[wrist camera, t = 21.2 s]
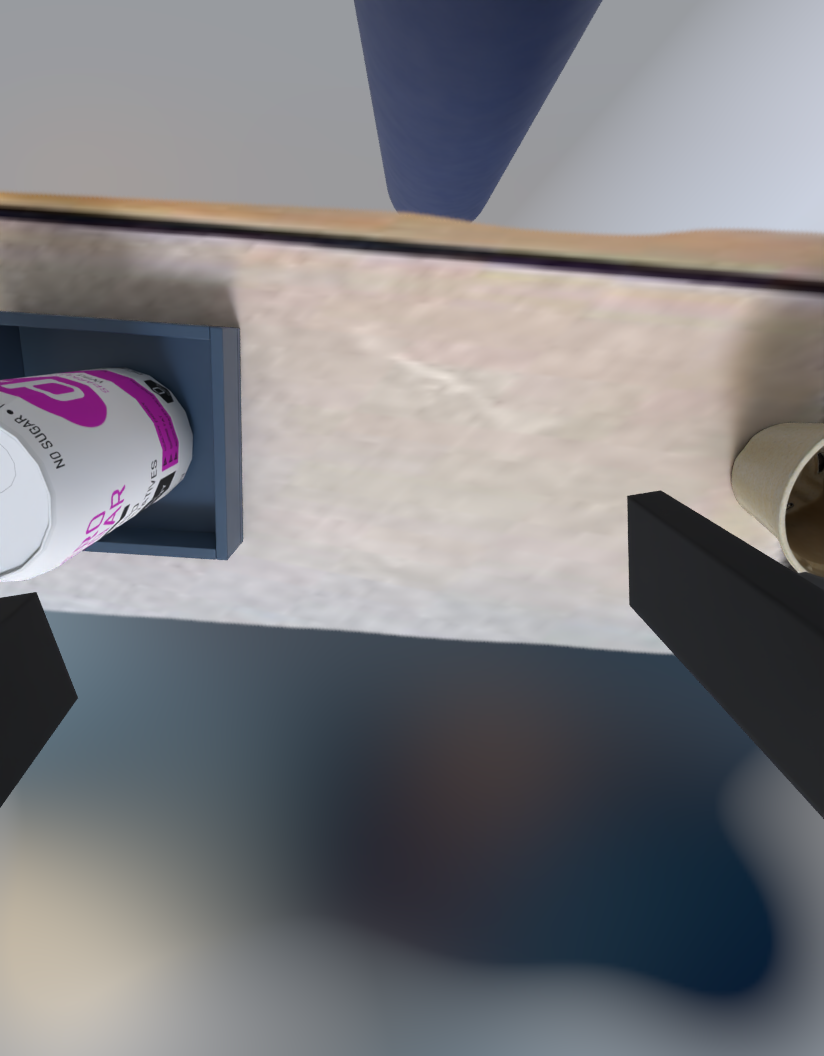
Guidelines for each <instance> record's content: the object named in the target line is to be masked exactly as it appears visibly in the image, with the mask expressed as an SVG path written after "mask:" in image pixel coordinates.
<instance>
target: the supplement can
mask: <svg viewBox="0 0 824 1056" xmlns="http://www.w3.org/2000/svg"><path fill="white" fill-rule="evenodd" d="M192 448H193V434H192V431H191V427H190V424H189V421H188V418H187V415H186V412H185V410H184V409H183V408H182V406H181V405H180V403H179V402H178V401H177V399H176V398H175V396H174V395H173V394H172V392H171V391H170V390H169V389H167V388H166V387H164V386H163V385H162V384H160V383H159V382H158V381H156V380H155V379H154V378H152V377H151V376H150V375H147V374H143V373H140V372H137V371H134V370H131V369H128V368H99V369H90V370H82V371H73V372H65V373H56V374H48V375H39V376H31V377H22V378H14V379H5V380H0V581H26V580H28V579H31V578H33V577H36V576H38V575H41V574H43V573H46V572H48V571H51V570H53V569H55V568H57V567H58V566H60V565H61V564H63V563H64V562H66V561H67V560H69V559H70V558H72V557H73V556H75V555H76V554H78V553H79V552H81V551H82V550H84V549H85V548H87V547H88V546H90V545H91V544H93V543H94V542H96V541H97V540H99V539H100V538H102V537H103V536H105V535H106V534H108V533H110V532H111V531H113V530H114V529H116V528H117V527H119V526H120V525H122V524H123V523H125V522H126V521H128V520H129V519H131V518H132V517H134V516H135V515H137V514H138V513H140V512H141V511H143V510H144V509H146V508H147V507H149V506H150V505H152V504H153V503H155V502H156V501H158V500H159V499H161V498H162V497H164V496H165V495H167V494H168V493H169V492H170V491H171V490H172V489H173V488H174V487H175V486H176V485H177V484H179V483H180V482H181V481H182V480H183V478H184V476H185V474H186V471H187V469H188V467H189V465H190V462H191V460H192Z"/></svg>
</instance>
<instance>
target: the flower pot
mask: <svg viewBox="0 0 824 1056" xmlns="http://www.w3.org/2000/svg"><path fill="white" fill-rule="evenodd" d="M819 453H822V455H823V457H824V423H781V424H777V425H774V426H771V427H768V428H766V429H764V430H762V431H760V432H759V433H757V434H756V435H754V436H753V437H752V438H751V440H750V441H749V442H748V444H747V445H746V446H745V448H744V449H743V450H742V451H741V452H740V454H739V455H738V456H737V457H736V460H735V462H734V466H733V470H732V480H731V482H732V488H733V492H734V495H735V497H736V499H737V501H738V502H739V504H740V505H741V506H742V507H743V508H744V509H745V510H746V511H747V512H748V513H749V514H750V515H752V516H753V517H754V518H756V519H757V520H758V521H759V522H760V523H761V524H762V525H764V526H765V527H766V528H767V529H768V530H769V531H770V532H771V533H772V534H773V535H774V536H776V537H777V539H778V540H779V542H780V545H781V548H782V550H783V553H784V555H785V556H786V558H787V560H788V561H789V562H790V564H791V565H792V566H793V567H794V569H795V570H796V571H797V572H799V573H801V572H808V573H811V574H814V575H817V576H820V577H824V468H823V470H822V471H821V472H819V459H818V454H819ZM789 503H792V504H793V506H791V507H789V508H788V509H786V507H787V504H789Z"/></svg>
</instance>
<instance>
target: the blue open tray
mask: <svg viewBox="0 0 824 1056" xmlns="http://www.w3.org/2000/svg"><path fill="white" fill-rule="evenodd" d="M99 368H128V369H131V370H134V371H137V372H140V373H143V374H147V375H150V376H151V377H152V378H154V379H155V380H156V381H158V382H159V383H160V384H162V385H163V386H164V387H166V388H167V389H169V390H170V391H171V392H172V394H173V395H174V396H175V398H176V399H177V401H178V402H179V403H180V405H181V406H182V408H183V409H184V410H185V412H186V415H187V418H188V421H189V424H190V427H191V431H192V434H193V448H192V460H191V462H190V465H189V467H188V469H187V471H186V474H185V476H184V478H183V480H182V481H181V482H180V483H179V484H177V485H176V486H175V487H174V488H173V489H172V490H171V491H170V492H169V493H168V494H167V495H165V496H164V497H162V498H161V499H159V500H158V501H156V502H155V503H153V504H152V505H150V506H149V507H147V508H146V509H144V510H143V511H141V512H140V513H138V514H137V515H135V516H134V517H132V518H131V519H129V520H128V521H126V522H125V523H123V524H122V525H120V526H119V527H117V528H116V529H114V530H113V531H111V532H110V533H108V534H106V535H105V536H103V537H102V538H100V539H99V540H97V541H96V542H94V543H93V544H91V545H90V546H88V547H87V548H85V549H84V550H82V551H91V552H107V553H123V554H138V555H154V556H169V557H185V558H200V559H217V560H228V559H229V557H230V556H231V555H232V554H233V553H234V551H235V550H236V549H237V548H238V546H239V545H240V544H241V543H242V542H243V512H242V443H241V373H240V328H234V327H220V326H206V325H192V324H178V323H164V322H150V321H136V320H122V319H108V318H95V317H81V316H67V315H53V314H39V313H25V312H10V311H0V380H5V379H14V378H22V377H31V376H39V375H48V374H56V373H65V372H73V371H82V370H90V369H99Z"/></svg>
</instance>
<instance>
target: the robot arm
mask: <svg viewBox="0 0 824 1056" xmlns="http://www.w3.org/2000/svg"><path fill="white" fill-rule="evenodd" d="M627 502H628V553H629V603H630V606H631V607H632V608H633V609H634V611H635V612H636V613H637V614H638V615H639V616H640V617H641V618H642V619H643V620H644V622H645V623H646V624H647V625H648V626H649V627H650V628H651V629H652V630H653V631H654V633H655V634H656V635H657V636H658V637H659V638H660V639H661V640H662V641H663V642H664V644H665V645H666V646H667V647H668V648H669V649H670V650H671V651H672V652H673V653H674V655H675V656H676V657H677V658H678V659H679V660H680V661H681V662H682V663H683V664H684V666H685V667H686V668H687V669H688V670H689V671H690V672H691V673H692V674H693V675H694V677H695V678H696V679H697V680H698V681H699V682H700V683H701V684H702V685H703V686H704V688H705V689H706V690H707V691H708V692H709V693H710V694H711V695H712V696H713V697H714V699H715V700H716V701H717V702H718V703H719V704H720V705H721V706H722V707H723V708H724V709H725V711H726V712H727V713H728V714H729V715H730V716H731V717H732V718H733V719H734V721H735V722H736V723H737V724H738V725H739V726H740V727H741V728H742V729H743V730H744V732H745V733H746V734H747V735H748V736H749V737H750V738H751V739H752V740H753V741H754V743H755V744H756V745H757V746H758V747H759V748H760V749H761V750H762V751H763V752H764V754H765V755H766V756H767V757H768V758H769V759H770V760H771V761H772V762H773V764H775V766H776V767H777V768H778V769H779V770H780V771H781V772H782V773H783V774H784V776H785V777H786V778H787V779H788V780H789V781H790V782H791V783H792V784H793V785H794V787H795V788H796V789H797V790H798V791H799V792H800V793H801V794H802V795H803V796H804V798H805V799H806V800H807V801H808V802H809V803H810V804H811V805H812V806H813V808H814V809H815V810H816V811H818V813H819V814H820V815H821V816H822V817H823V819H824V577H820V576H817V575H814V574H811V573H808V572H801V573H795V572H793V571H792V570H790V569H788V568H787V567H785V566H783V565H782V564H780V563H779V562H777V561H775V560H774V559H772V558H770V557H769V556H767V555H765V554H764V553H762V552H761V551H759V550H757V549H756V548H754V547H752V546H751V545H749V544H747V543H746V542H744V541H743V540H741V539H739V538H738V537H736V536H734V535H733V534H731V533H729V532H728V531H726V530H725V529H723V528H721V527H720V526H718V525H716V524H715V523H713V522H711V521H710V520H708V519H707V518H705V517H703V516H702V515H700V514H698V513H697V512H695V511H693V510H692V509H690V508H689V507H687V506H685V505H684V504H682V503H680V502H679V501H677V500H675V499H674V498H672V497H671V496H669V495H667V494H666V493H664V492H662V491H655V492H649V493H643V494H636V495H630V496H627ZM77 699H78V697H77V694H76V692H75V689H74V687H73V684H72V682H71V679H70V677H69V674H68V671H67V669H66V666H65V664H64V661H63V659H62V656H61V654H60V651H59V648H58V646H57V643H56V641H55V638H54V636H53V633H52V631H51V628H50V626H49V623H48V621H47V618H46V615H45V613H44V610H43V608H42V605H41V603H40V600H39V598H38V595H37V593H36V592H34V593H28V594H21V595H15V596H9V597H3V598H0V807H1V806H2V805H3V803H4V802H5V800H6V799H7V797H8V796H9V795H10V793H11V792H12V790H13V789H14V788H15V786H16V785H17V783H18V782H19V781H20V779H21V778H22V776H23V775H24V773H25V772H26V771H27V769H28V768H29V766H30V765H31V764H32V762H33V760H34V759H35V758H36V757H37V755H38V754H39V752H40V751H41V749H42V748H43V747H44V745H45V744H46V742H47V741H48V740H49V738H50V737H51V735H52V734H53V732H54V731H55V730H56V728H57V727H58V725H59V724H60V723H61V721H62V720H63V718H64V717H65V715H66V714H67V712H68V711H69V710H70V708H71V707H72V706H73V704H74V703H75V701H76V700H77Z"/></svg>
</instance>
